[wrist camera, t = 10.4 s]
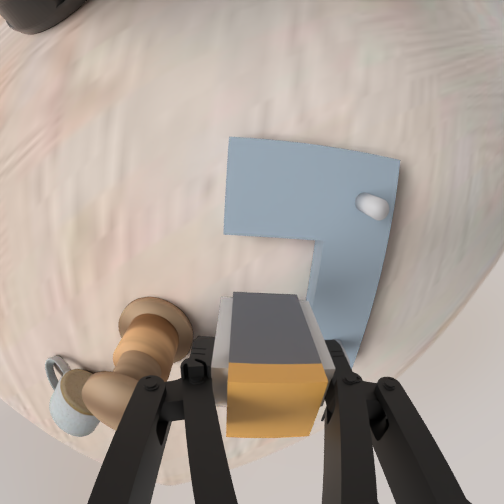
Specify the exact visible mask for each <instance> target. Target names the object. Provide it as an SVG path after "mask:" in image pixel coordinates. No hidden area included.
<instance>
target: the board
mask: <svg viewBox="0 0 504 504" xmlns="http://www.w3.org/2000/svg"><path fill="white" fill-rule="evenodd" d="M399 167H400V160H397V159H393V158H388V157H383V156H379V155H374V154H369V153H363V152H358V151H352V150H347V149H341V148H334V147H328V146H321V145H314V144H306V143H298V142H289V141H279V140H269V139H256V138H241V137H229V147H228V162H227V178H226V196H225V215H224V234H225V235H242V236H259V237H275V238H290V239H305V240H315V246H314V253H313V260H312V266H311V273H310V279H309V285H308V291H307V297H306V301H309V304H310V306H311V308H312V311H313V313H314V316H315V318H316V321H317V323H318V326H319V328H320V331H321V333H322V336H323V338H324V340H336V341H337V342H338V343H339V344H340V345H341V347H342V350H343V352H344V354H345V357H346V358H347V361H348V363H349V365H350V367H351V369H352V367H353V364H354V361H355V359H356V356H357V353H358V350H359V347H360V344H361V341H362V338H363V335H364V332H365V329H366V325H367V322H368V319H369V316H370V312H371V309H372V305H373V302H374V298H375V294H376V291H377V287H378V283H379V279H380V275H381V271H382V267H383V262H384V258H385V253H386V249H387V244H388V239H389V234H390V228H391V223H392V217H393V211H394V205H395V198H396V191H397V184H398V176H399Z"/></svg>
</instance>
